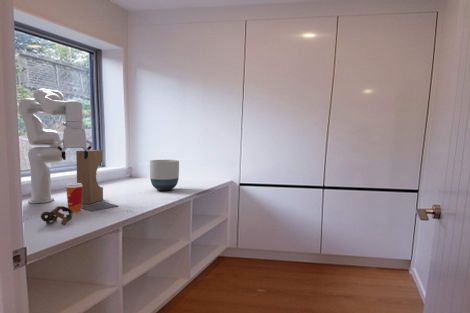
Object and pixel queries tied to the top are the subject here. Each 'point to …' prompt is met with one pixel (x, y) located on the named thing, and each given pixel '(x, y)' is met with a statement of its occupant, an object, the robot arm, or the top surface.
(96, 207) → the mat
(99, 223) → the top surface
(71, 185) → the paper cup
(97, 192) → the decorative block
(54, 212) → the brown looped knot sculpture
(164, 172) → the planter
